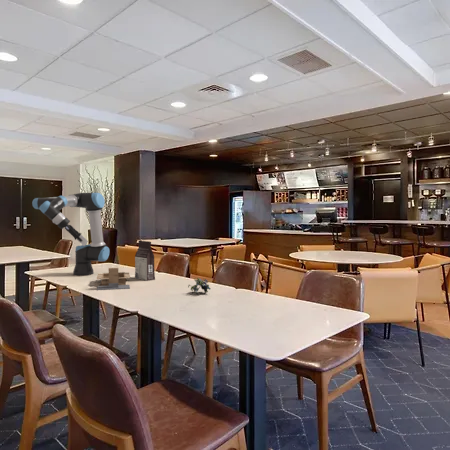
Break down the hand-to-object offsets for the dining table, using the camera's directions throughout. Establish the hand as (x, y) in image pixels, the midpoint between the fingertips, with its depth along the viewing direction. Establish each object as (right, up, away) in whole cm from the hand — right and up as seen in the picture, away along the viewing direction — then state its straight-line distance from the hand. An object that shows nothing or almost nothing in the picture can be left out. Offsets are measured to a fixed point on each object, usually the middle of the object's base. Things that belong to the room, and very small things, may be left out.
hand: (86, 243), depth 246 cm
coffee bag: (+32, -28, +29) cm, 51 cm away
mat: (+20, -28, -5) cm, 35 cm away
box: (+19, -28, -5) cm, 34 cm away
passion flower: (+76, -29, -21) cm, 84 cm away
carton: (+14, -28, +13) cm, 34 cm away
